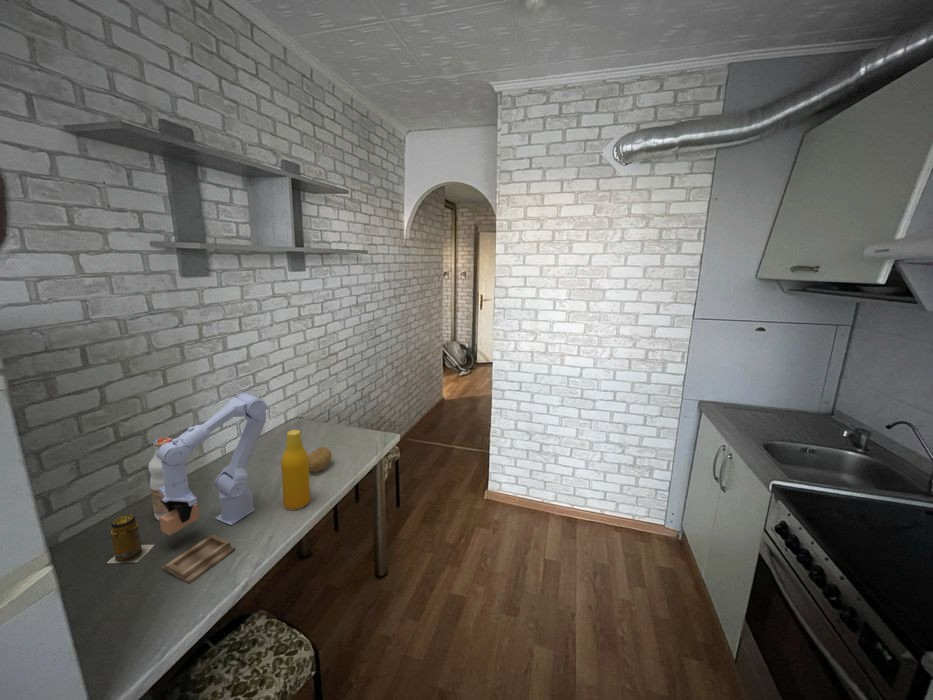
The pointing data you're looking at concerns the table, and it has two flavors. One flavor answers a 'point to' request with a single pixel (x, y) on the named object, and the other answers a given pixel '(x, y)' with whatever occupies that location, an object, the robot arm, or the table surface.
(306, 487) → the yellow bottle
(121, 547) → the condiment
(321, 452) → the potato
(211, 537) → the cradle jig
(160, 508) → the fruit juice
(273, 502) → the table surface
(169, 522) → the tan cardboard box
